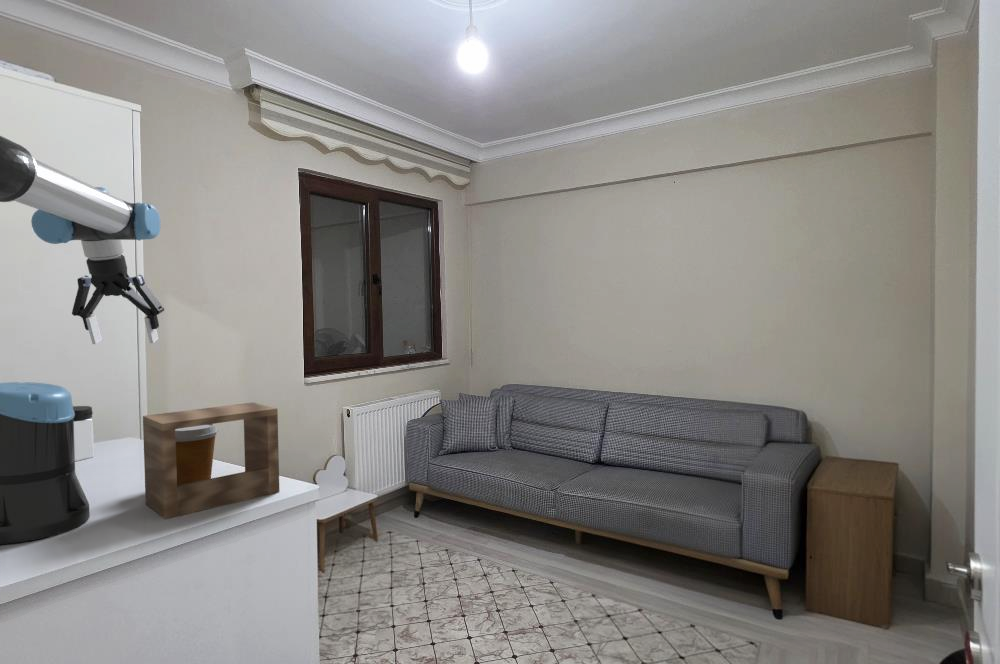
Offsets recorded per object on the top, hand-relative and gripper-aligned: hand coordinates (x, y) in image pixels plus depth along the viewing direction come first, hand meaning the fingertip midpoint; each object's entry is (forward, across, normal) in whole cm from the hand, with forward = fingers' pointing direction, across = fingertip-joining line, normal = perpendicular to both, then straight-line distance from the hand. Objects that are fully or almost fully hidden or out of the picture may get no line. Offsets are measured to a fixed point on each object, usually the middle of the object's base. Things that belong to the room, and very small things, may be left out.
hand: (126, 341), depth 143 cm
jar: (+26, +12, +12) cm, 30 cm away
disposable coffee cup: (+18, -28, +35) cm, 48 cm away
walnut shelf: (+15, -36, +42) cm, 58 cm away
